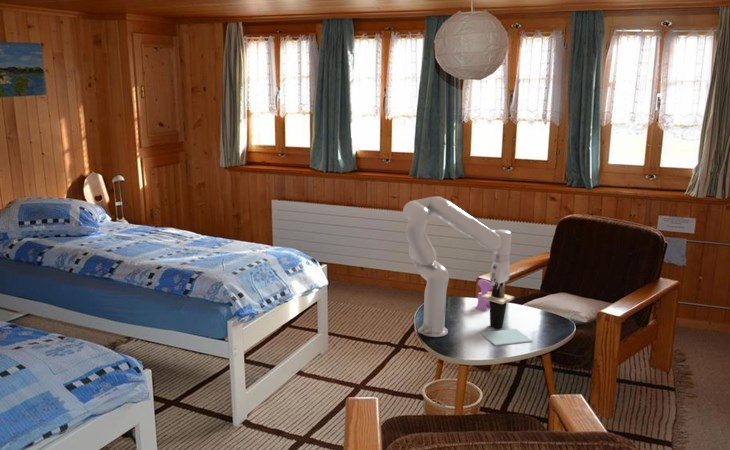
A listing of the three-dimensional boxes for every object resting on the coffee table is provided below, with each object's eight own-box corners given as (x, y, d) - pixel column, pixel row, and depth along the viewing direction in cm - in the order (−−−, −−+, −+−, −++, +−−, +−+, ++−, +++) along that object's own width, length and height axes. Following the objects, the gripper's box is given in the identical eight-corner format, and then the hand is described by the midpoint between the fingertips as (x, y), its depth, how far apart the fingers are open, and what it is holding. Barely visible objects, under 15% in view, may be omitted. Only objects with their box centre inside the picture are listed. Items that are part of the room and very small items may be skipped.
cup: (504, 330, 297) (506, 305, 294) (487, 328, 299) (489, 303, 296) (504, 324, 304) (506, 299, 302) (488, 322, 306) (489, 298, 303)
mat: (495, 345, 279) (495, 344, 279) (480, 333, 292) (480, 332, 292) (532, 341, 285) (532, 340, 284) (516, 330, 298) (516, 328, 298)
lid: (502, 304, 291) (503, 291, 290) (480, 298, 298) (481, 285, 296) (514, 298, 299) (515, 286, 298) (493, 293, 306) (494, 280, 305)
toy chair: (497, 307, 327) (499, 278, 324) (488, 311, 321) (490, 282, 317) (483, 303, 332) (484, 275, 329) (473, 307, 326) (475, 278, 323)
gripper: (499, 262, 286) (495, 302, 290) (517, 255, 298) (513, 294, 302) (484, 258, 291) (481, 298, 294) (502, 252, 303) (499, 290, 307)
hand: (497, 295), depth 298 cm, fingers closed on lid, 3 cm apart
